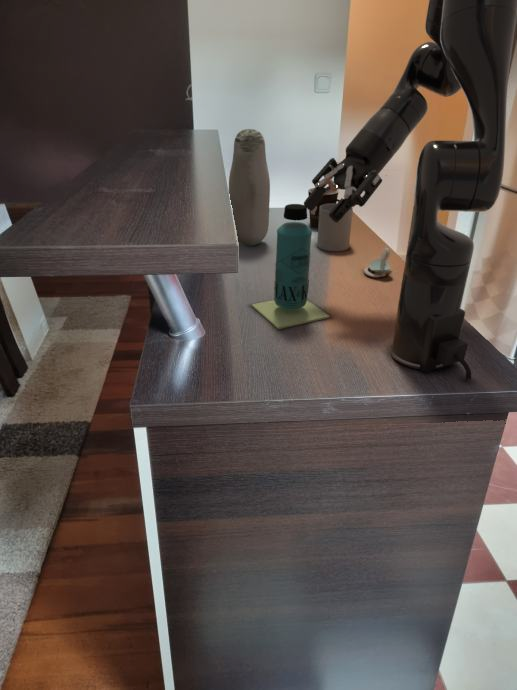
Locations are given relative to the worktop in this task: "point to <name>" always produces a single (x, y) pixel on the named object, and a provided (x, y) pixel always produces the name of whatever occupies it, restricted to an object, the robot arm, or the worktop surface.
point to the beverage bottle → (292, 259)
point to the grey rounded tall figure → (250, 187)
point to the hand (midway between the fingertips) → (319, 213)
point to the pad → (289, 314)
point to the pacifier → (379, 265)
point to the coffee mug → (327, 199)
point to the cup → (333, 230)
